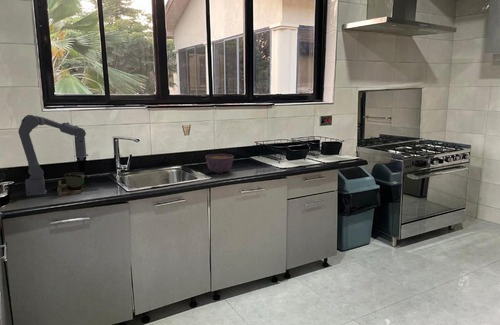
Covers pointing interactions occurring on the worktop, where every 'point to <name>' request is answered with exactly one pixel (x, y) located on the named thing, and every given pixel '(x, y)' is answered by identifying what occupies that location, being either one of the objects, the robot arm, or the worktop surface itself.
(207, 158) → the bowl of food
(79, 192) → the tan piece
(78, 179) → the food container
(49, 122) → the robot arm
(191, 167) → the worktop surface
